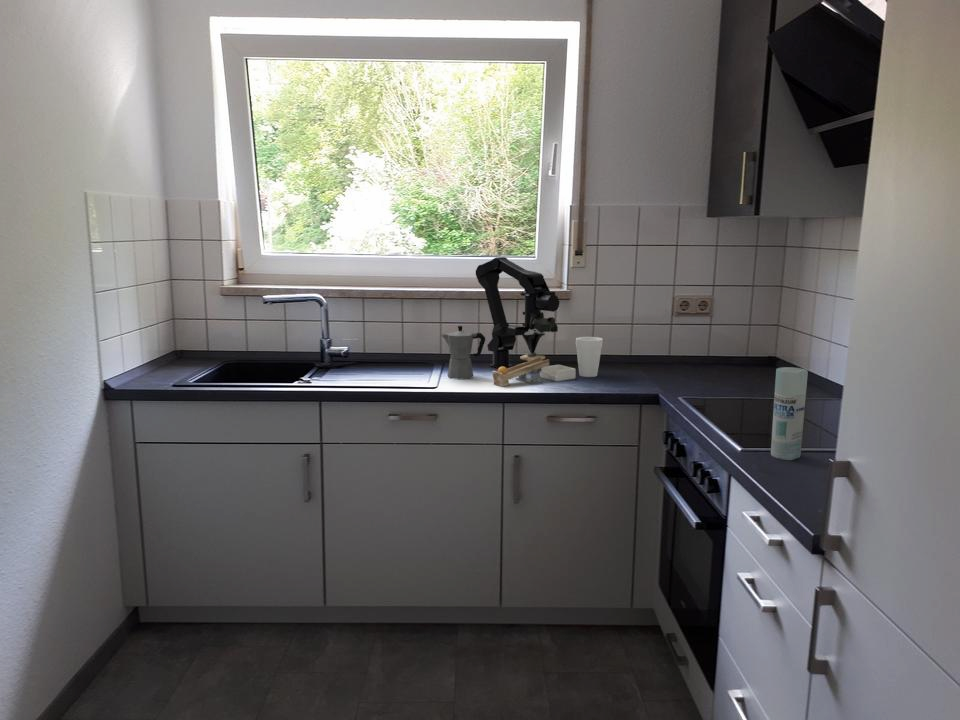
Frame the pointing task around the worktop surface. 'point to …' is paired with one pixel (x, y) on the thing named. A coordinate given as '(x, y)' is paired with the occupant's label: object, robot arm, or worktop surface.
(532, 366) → the lever
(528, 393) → the worktop surface
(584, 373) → the foam cup
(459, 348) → the coffeepot
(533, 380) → the fulcrum
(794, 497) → the worktop surface
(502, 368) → the ball
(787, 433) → the spray paint can
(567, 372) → the dish
